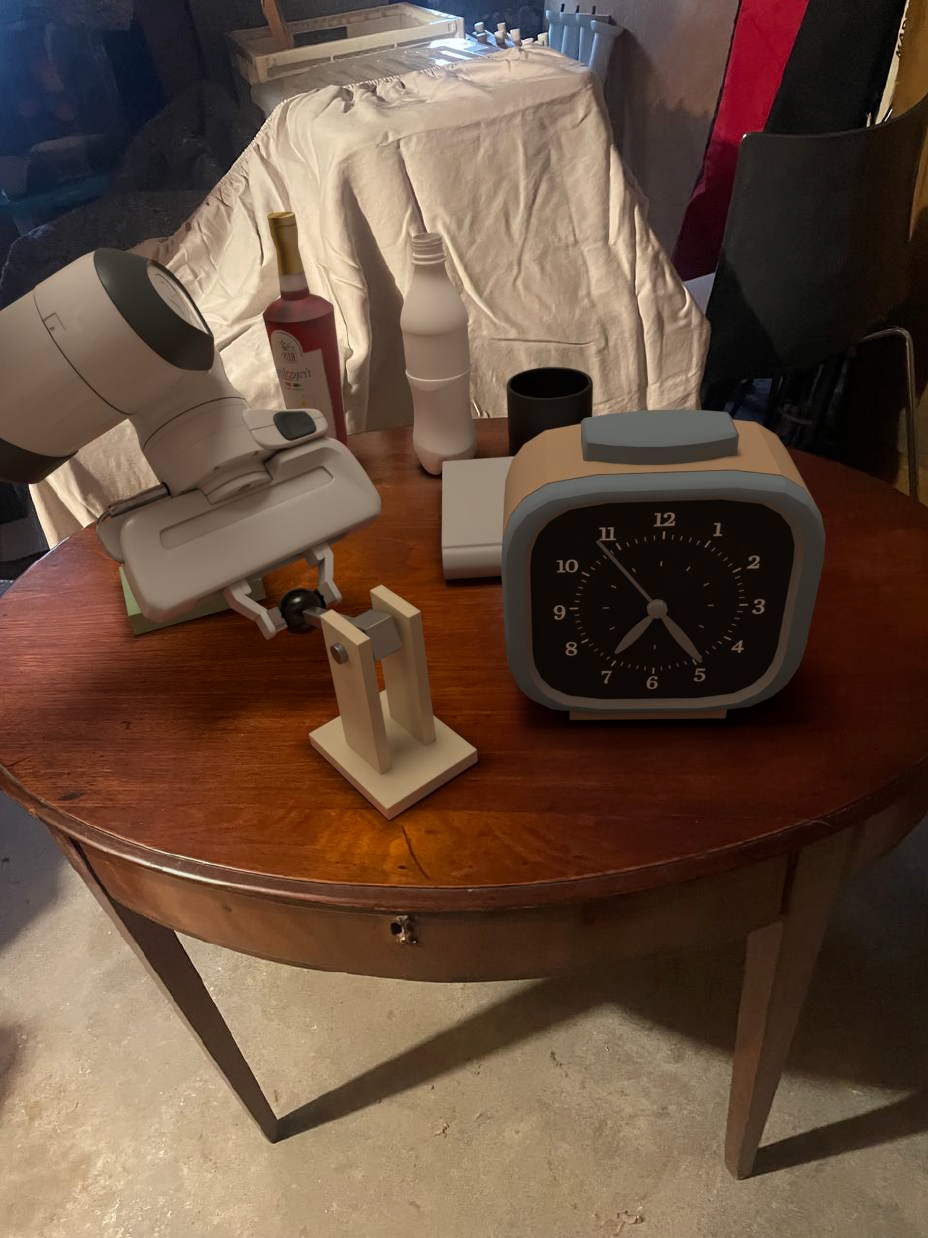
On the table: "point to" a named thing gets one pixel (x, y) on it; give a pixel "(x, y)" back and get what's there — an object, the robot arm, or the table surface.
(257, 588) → the button box
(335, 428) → the liquor
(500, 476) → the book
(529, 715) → the table surface
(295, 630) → the lever
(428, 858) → the table surface
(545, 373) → the mug
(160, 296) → the robot arm
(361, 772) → the bracket
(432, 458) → the water bottle
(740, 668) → the alarm clock
